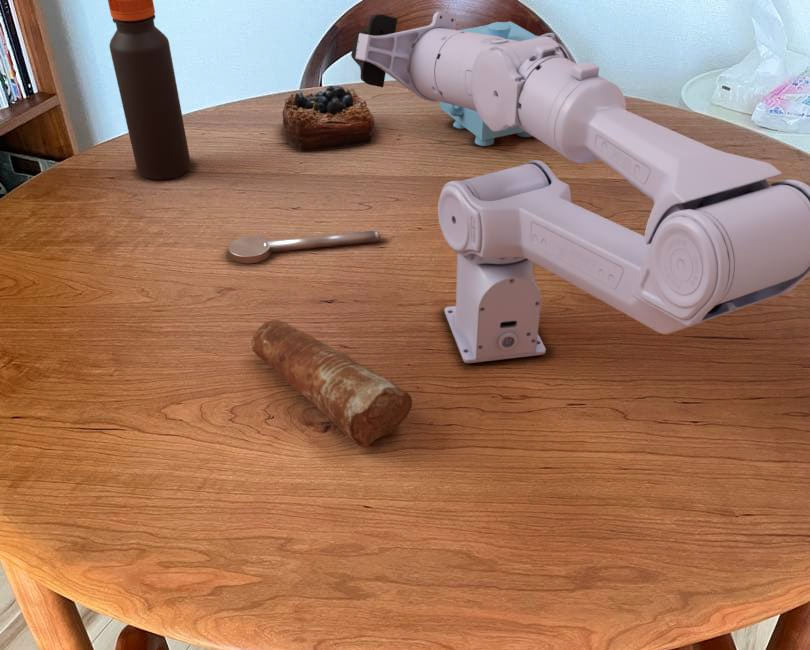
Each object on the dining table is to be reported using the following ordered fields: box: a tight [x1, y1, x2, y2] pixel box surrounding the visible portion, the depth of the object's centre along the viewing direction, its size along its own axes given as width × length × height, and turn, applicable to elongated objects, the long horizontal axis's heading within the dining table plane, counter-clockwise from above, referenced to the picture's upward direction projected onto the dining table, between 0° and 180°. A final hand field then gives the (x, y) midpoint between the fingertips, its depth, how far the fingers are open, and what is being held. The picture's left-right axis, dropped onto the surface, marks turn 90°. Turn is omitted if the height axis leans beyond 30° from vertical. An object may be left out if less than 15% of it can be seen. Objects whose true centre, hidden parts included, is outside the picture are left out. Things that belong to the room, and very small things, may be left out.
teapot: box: [439, 21, 540, 147], centre depth 117 cm, size 18×16×13 cm
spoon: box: [228, 230, 381, 265], centre depth 101 cm, size 5×17×1 cm, turn 100°
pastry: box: [281, 85, 375, 152], centre depth 121 cm, size 11×12×6 cm
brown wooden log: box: [251, 319, 413, 447], centre depth 80 cm, size 6×19×6 cm, turn 37°
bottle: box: [107, 0, 191, 181], centre depth 109 cm, size 7×7×20 cm
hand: (391, 54), depth 88 cm, fingers open, 7 cm apart
